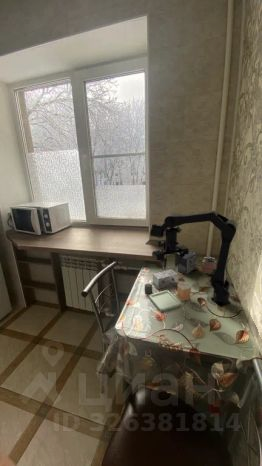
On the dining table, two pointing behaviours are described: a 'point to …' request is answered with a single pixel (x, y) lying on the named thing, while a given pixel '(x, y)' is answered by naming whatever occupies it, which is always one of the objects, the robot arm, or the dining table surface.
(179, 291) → the square block
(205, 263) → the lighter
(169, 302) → the tray
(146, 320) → the dining table surface
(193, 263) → the small box
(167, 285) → the box
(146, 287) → the dark rounded cylinder
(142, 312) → the dining table surface
